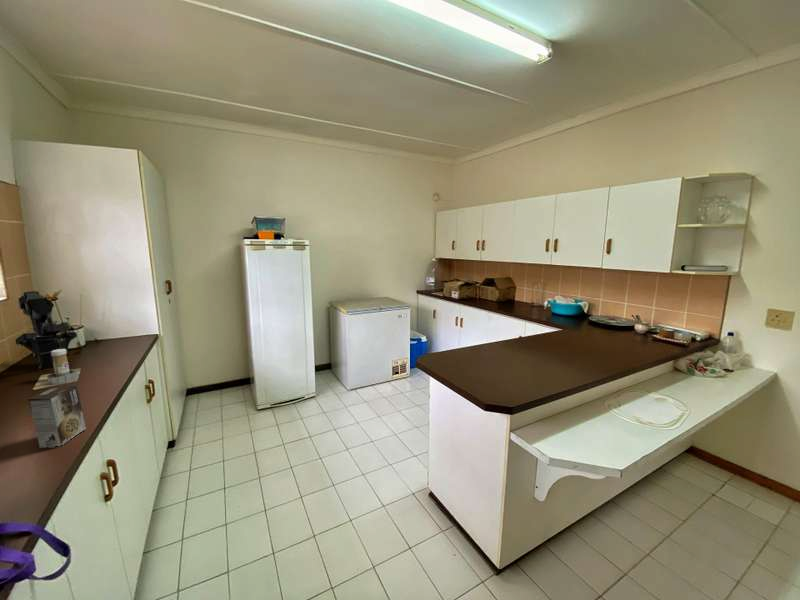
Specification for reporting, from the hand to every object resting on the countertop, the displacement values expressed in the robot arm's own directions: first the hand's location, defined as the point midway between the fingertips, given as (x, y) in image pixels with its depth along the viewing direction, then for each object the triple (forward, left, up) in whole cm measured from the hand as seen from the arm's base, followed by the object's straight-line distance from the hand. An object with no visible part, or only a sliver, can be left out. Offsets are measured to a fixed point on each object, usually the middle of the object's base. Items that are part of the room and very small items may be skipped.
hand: (53, 355), depth 146 cm
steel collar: (+10, +3, -9) cm, 14 cm away
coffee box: (+67, +8, -11) cm, 68 cm away
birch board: (+6, +1, -10) cm, 12 cm away
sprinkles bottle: (+9, +3, -9) cm, 14 cm away
